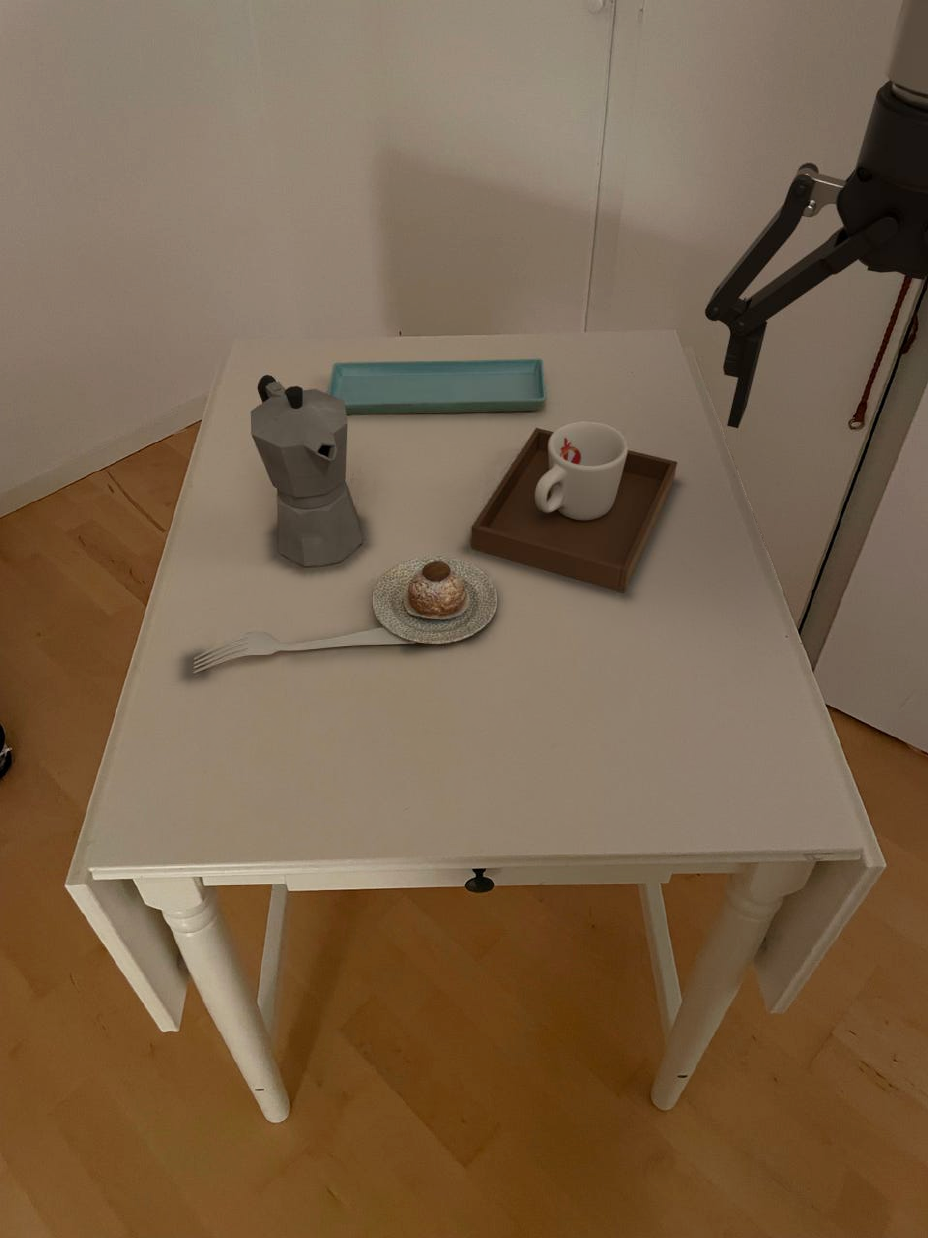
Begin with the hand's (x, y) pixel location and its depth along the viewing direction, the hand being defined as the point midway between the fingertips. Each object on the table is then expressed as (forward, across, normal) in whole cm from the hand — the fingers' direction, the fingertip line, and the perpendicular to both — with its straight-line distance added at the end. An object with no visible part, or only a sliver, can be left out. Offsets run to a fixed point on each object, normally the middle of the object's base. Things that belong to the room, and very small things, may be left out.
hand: (838, 439), depth 61 cm
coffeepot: (+27, +46, -3) cm, 54 cm away
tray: (+27, +22, -16) cm, 38 cm away
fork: (+27, +38, +12) cm, 48 cm away
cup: (+26, +22, -16) cm, 38 cm away
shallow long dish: (+27, +45, -30) cm, 61 cm away
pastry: (+27, +30, +2) cm, 40 cm away
